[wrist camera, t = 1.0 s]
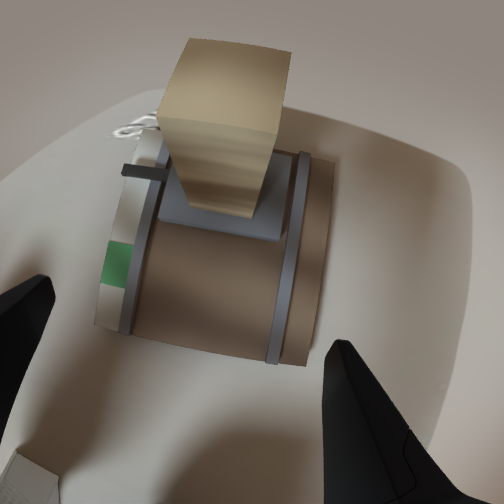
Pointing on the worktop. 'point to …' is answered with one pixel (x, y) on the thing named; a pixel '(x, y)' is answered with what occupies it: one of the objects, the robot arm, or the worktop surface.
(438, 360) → the worktop surface
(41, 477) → the skyscraper
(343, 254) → the worktop surface
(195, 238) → the board
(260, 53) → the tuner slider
